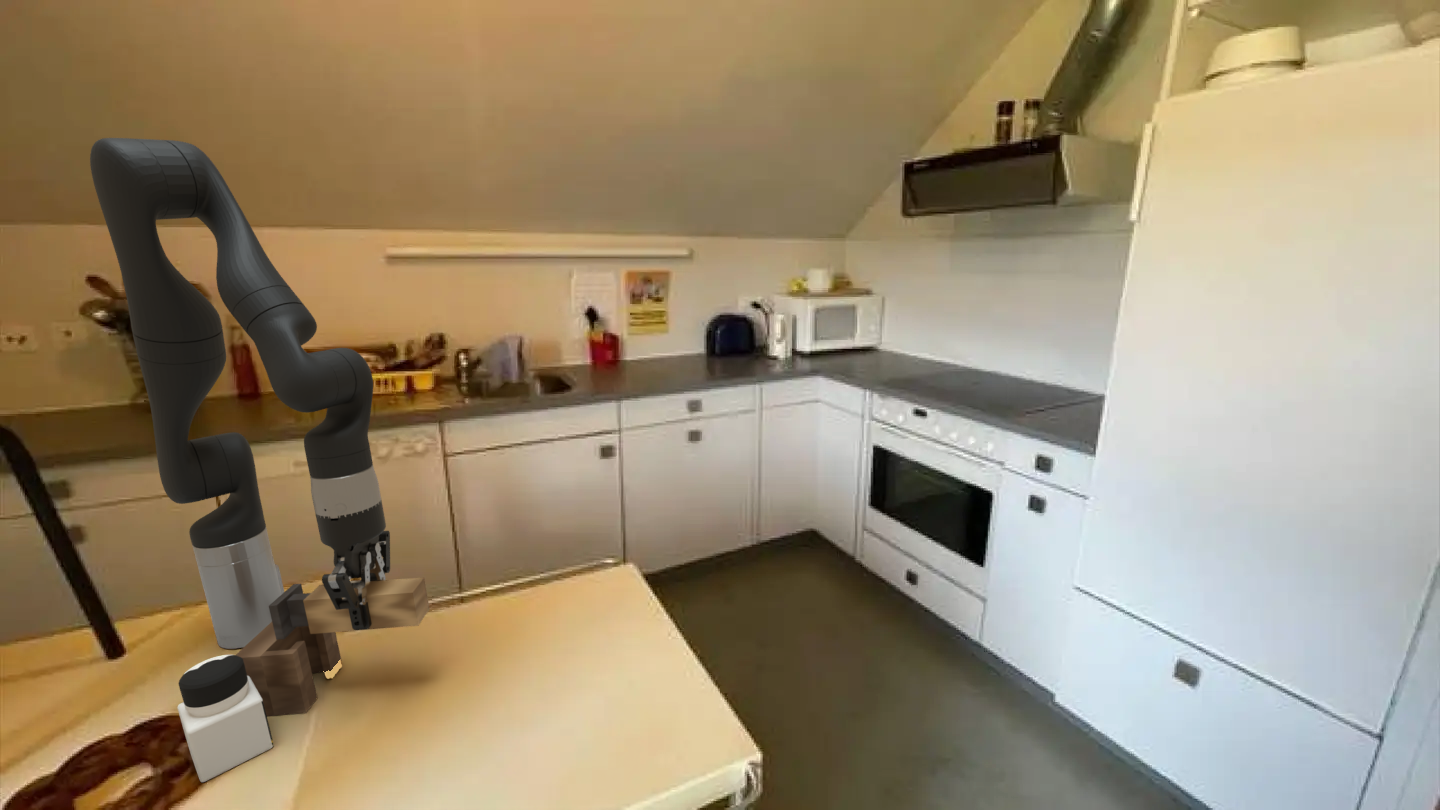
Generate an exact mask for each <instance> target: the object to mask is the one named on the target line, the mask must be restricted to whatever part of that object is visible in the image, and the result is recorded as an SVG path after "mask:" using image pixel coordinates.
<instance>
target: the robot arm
mask: <svg viewBox="0 0 1440 810" xmlns="http://www.w3.org/2000/svg"><path fill="white" fill-rule="evenodd" d="M89 156H90V157H89V164H90V165H89V166H90V172H91V177H92V182H93V185H94V189H95V193H96V196H97V199H98V203H99V205H100V209H101V211H102V214H103V218H104V221H105V223H106V224H105V225H106V228H107V230H108V234H109V237H110V239H111V243H112V246H113V249H114V253H115V255H116V258H117V263H118V266H119V269H120V270H119V271H120V273H121V279H122V283H123V287H124V292H125V293H124V294H125V295H126V300H127V301H126V302H127V307H128V313H129V320H130V326H131V332H132V337H133V341H134V347H135V349H136V355H137V359H138V362H139V367H140V370H141V374H142V378H143V382H144V386H145V389H146V392H147V396H148V402H149V407H150V411H151V418H152V426H153V435H154V442H155V451H156V458H157V465H158V473H159V478H160V481H161V484H162V486H163V490H164V492H165V494H166V495H167V497H168V498H169V499H170V500H171V501H172V502H174V503H176V504H179V505H180V504H181V505H183V504H185V505H186V504H191V503H197V502H201V501H205V500H208V499H213V498H217V497H220V496H224V495H228V497H227V498H226V500H224V502H222V504H220V505H219V506H218V507H216V508H215V509H214V510H212V511H210V512H209V513H207V514H206V515H203V516H202V517H200V518H199V519H198V520H196V521H195V522H194V523H192V524H191V526H190V528H189V532H188V533H189V539H190V542H191V545H192V549H193V553H194V556H195V557H194V558H195V561H196V564H197V568H198V572H199V577H200V580H201V585H202V588H203V590H204V595H205V600H206V603H207V606H208V610H209V614H210V617H211V618H210V619H211V622H212V627H213V630H214V634H215V638H216V642H217V645H218V646H219V647H220V648H223V649H229V650H230V649H240V648H241V649H243V648H244V647H245V646H246V645H247V644H248V643H249V642H250V641H251V640H252V639H253V638H254V637H256V636H257V635H258V634H259V633H260V632H261V631H262V630H263V629H264V628H265V627H266V626H267V625H269V624H270V623H271V622H272V619H271V614H270V610H269V605H270V604H271V603H273V602H274V601H275V600H276V599H277V598H278V597H279V596H281V595H282V594H283V593H284V592H285V589H284V584H283V580H282V575H281V571H280V568H279V564H276V563H275V560H274V555H273V550H272V545H271V543H270V537H269V533H268V528H267V525H266V521H265V515H264V509H263V505H262V501H261V496H260V490H259V489H260V488H259V484H258V476H257V471H256V470H257V469H256V465H255V457H254V454H253V450H252V447H251V445H250V443H249V441H248V440H247V439H246V437H245V436H244V435H242V434H241V433H240V432H235V431H234V432H226V433H221V434H220V433H219V434H215V435H209V436H203V437H199V438H195V439H190V440H189V434H190V429H191V425H192V422H193V420H194V416H195V414H196V413H197V410H198V409H199V408H200V406H201V404H202V403H203V401H204V400H205V399H206V397H207V395H209V393H210V392H211V390H212V389H213V387H214V385H215V384H216V383H217V380H218V379H219V377H220V375H222V372H223V371H224V368H225V365H226V361H227V350H226V344H225V338H224V330H223V325H222V319H221V317H220V314H219V312H218V310H217V309H216V307H214V305H213V304H212V303H211V302H210V300H209V299H208V298H207V297H206V296H205V295H204V294H203V293H202V292H200V290H199V289H197V288H196V287H195V286H194V285H193V284H192V283H191V282H190V281H189V280H188V279H187V278H185V276H184V275H183V274H182V273H181V272H180V271H179V270H178V269H177V268H176V267H175V266H174V264H173V263H172V262H171V260H170V259H169V258H168V256H167V255H166V252H165V251H164V248H163V246H162V243H161V241H160V240H161V239H160V238H159V233H158V229H157V221H160V220H174V219H175V220H176V219H177V220H179V219H193V218H197V219H199V221H201V222H202V223H203V225H205V226H206V227H207V228H208V230H209V231H210V232H211V233H212V235H213V237H214V239H215V243H216V249H217V256H216V267H215V268H216V269H215V271H216V273H215V274H216V275H215V276H216V277H215V279H216V280H215V281H216V286H217V291H218V294H219V297H220V299H221V301H222V302H223V305H224V307H226V309H227V310H228V312H229V313H230V314H231V315H232V317H233V318H234V320H235V321H236V322H237V323H238V324H239V326H240V327H241V329H243V331H244V332H245V333H246V334H247V336H248V337H249V338H250V339H251V340H252V342H253V343H254V345H255V347H256V349H257V352H258V354H259V357H260V360H261V362H262V365H263V367H264V370H265V372H266V375H267V378H268V380H269V383H270V386H271V388H272V390H273V392H274V394H275V395H276V396H277V398H278V399H279V401H281V403H283V404H284V405H286V406H287V407H289V408H290V409H291V410H294V411H296V412H300V413H315V412H318V411H322V410H326V414H325V417H324V420H322V422H321V423H319V424H318V425H316V426H315V427H312V429H310V430H308V431H307V432H306V433H305V434H304V435H305V436H304V439H303V446H304V453H305V457H306V458H305V460H306V462H307V470H308V473H309V478H310V492H311V493H310V494H311V501H312V504H313V508H314V514H315V519H316V523H317V528H318V529H317V530H318V533H319V537H320V538H319V539H320V542H321V543H322V544H323V545H325V546H326V547H329V548H331V549H332V550H333V566H334V568H333V570H332V571H331V573H326V574H325V573H324V574H323V575H322V578H321V583H322V585H324V587H325V589H326V591H327V593H328V595H329V597H330V599H331V601H332V603H333V605H334V607H335V609H336V610H341V609H349V614H350V619H351V624H352V628H353V629H354V630H356V631H365V630H366V631H368V630H367V629H369V627H370V626H371V625H372V623H371V617H370V612H369V607H368V602H367V590H366V587H367V586H368V585H369V584H370V581H381V580H386V575H385V574H389V573H390V571H391V534H390V533H391V532H390V530H385V529H386V527H387V523H386V518H385V513H384V507H383V501H382V497H381V491H380V484H379V480H378V476H377V474H376V471H375V467H374V464H373V458H372V457H373V456H372V452H371V445H370V441H369V436H368V435H369V428H370V421H371V412H372V403H373V395H374V379H373V374H372V370H371V369H370V366H369V364H368V362H367V361H366V359H365V358H364V357H363V356H362V355H361V354H360V353H359V352H357V351H356V350H354V349H351V348H347V347H336V348H330V349H325V350H319V351H313V352H307V351H306V350H305V349H304V348H303V345H305V344H307V343H308V342H309V341H310V340H312V339H313V337H314V336H315V334H316V332H317V330H318V325H317V324H318V323H317V322H316V319H315V317H314V316H313V315H312V313H311V312H310V311H309V309H308V308H307V307H306V306H305V304H304V303H303V301H302V300H301V299H300V298H299V296H298V295H297V294H296V293H295V292H294V290H293V289H292V288H291V287H290V285H289V284H288V283H287V282H286V280H285V279H284V278H283V276H282V275H281V274H280V273H279V271H278V270H277V268H276V267H275V266H274V265H273V263H272V261H271V259H270V258H269V257H268V255H267V253H266V252H265V251H264V248H263V246H262V244H261V243H260V241H259V239H258V238H257V236H256V234H255V232H254V230H253V228H252V226H251V224H250V222H249V221H248V219H247V217H246V215H245V213H244V212H243V210H242V208H241V207H240V205H239V203H238V202H237V200H236V198H235V196H234V195H233V192H232V191H231V188H230V187H229V186H228V183H227V182H226V180H225V179H224V177H223V176H222V174H221V172H220V171H219V169H218V167H217V166H216V164H214V163H213V161H212V160H211V158H210V157H209V156H208V155H207V154H206V153H205V152H204V151H203V150H201V149H200V148H199V147H197V146H196V145H195V144H192V143H189V142H186V141H181V140H173V139H172V140H171V139H150V138H149V139H148V138H129V137H125V138H124V137H106V138H105V137H104V138H100V139H97V140H95V142H94V143H93V145H92V146H91V149H90V155H89ZM352 579H357V580H352ZM358 579H361V580H358ZM354 588H357V589H358V596H357V595H356V592H355V590H354ZM342 598H343V599H342ZM369 630H370V629H369Z"/></svg>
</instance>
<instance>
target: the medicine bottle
mask: <svg viewBox="0 0 1440 810" xmlns="http://www.w3.org/2000/svg"><path fill="white" fill-rule="evenodd" d="M178 688H179V690H180V695H181V697H182V701H183V702H181V703H179V704H178V705H177V712H178V714H179V718H180V722H181V725H182V729H183V733H184V736H185V739H186V740H185V741H186V742H187V746H188V749H189V753H190V757H191V759H192V762H193V765H194V768H195V771H196V773H197V776H198V779H199V781H200V782H201V783H205V782H208V781H209V780H211V779H214V778H215V777H218V776H219V775H221V774H223V773H225V772H227V771H229V770H232V769H233V768H235V767H237V766H238V765H242V764H243V763H245V762H247V761H249V760H251V759H253V758H255V757H257V756H259V755H261V754H262V753H265V752H267V751H269V750H270V749H272V748H273V747H274V740H273V736H272V733H271V732H272V731H271V728H270V724H269V720H268V716H267V715H266V711H265V707H264V703H263V699H262V698H261V696H260V694H259V692H258V691H257V689H256V687H255V685H254V683H253V682H252V680H251V678H250V677H249V676H247V673H246V669H245V665H244V661H243V659H242V658H241V657H239V656H237V655H236V654H223V655H219V656H218V655H217V656H214V657H211V658H208V659H205V660H203V661H200V662H199V663H196V664H195V665H193V666H192V667H190V668H189V669H188V670H186V671H185V672H184V673H183V674H182V676H181V677H180V679H179V681H178Z"/></svg>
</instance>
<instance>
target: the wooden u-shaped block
mask: <svg viewBox="0 0 1440 810" xmlns="http://www.w3.org/2000/svg"><path fill="white" fill-rule="evenodd" d="M235 655H237V656H239V657H241V658H242V659H243V661H244V665H245V669H246V673H247V676H249V677H250V678H251V680H252V682H253V683H254V685H255V687H256V689H257V691H258V692H259V694H260V696H261V698H262V699H263V703H264V707H265V711H266V715H267V717H274V716H286V715H296V714H307V712H308V711H309V710H310V708H311V707H312V706H313V705H314V703H315V702H316V701H317V700H316V698H317V699H318V693H317V691H316V685H315V681H314V678H313V677H314V676H313V674H317V673H318V674H319V673H324V672H326V671H328V670H329V671H331V670H332V669H333V667H334V666H335V665H336V664H337V663H338V661H339V660H340V659H341V660H342V657H341V656H342V655H341V653H340V648H339V641H338V636H337V632H330V633H317V634H310V629H309V626H301V627H296V628H295V629H294V630H293V631H292V632H291V633H290V634H289V635H288V636H287V637H286V638H285V639H280V640H276V636H275V631H274V627H273V623H272V622H271V623H270V624H269V625H267V626H266V627H265V628H264V629H263V630H262V631H261V632H260V633H259V634H258V635H257V636H256V637H254V638H253V639H252V640H251V641H250V642H249V643H248V644H247V645H246V646H245V647H242V648H241V649H240V650H239V651H238V652H237V653H236V654H235ZM323 671H324V672H323Z"/></svg>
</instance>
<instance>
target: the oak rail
mask: <svg viewBox="0 0 1440 810" xmlns="http://www.w3.org/2000/svg"><path fill="white" fill-rule="evenodd" d="M354 590H355V592H356V595H357V596H358V589H357V588H354ZM366 590H367V602H368V607H369V612H370V617H371V623H372V625H371V626H370V627H369V629H367V630H366V631H369V630H378V629H392V628H393V629H394V628H408V627H418V626H420V624H421V623H422V621H423V620H424V618H425V617H426V615H427V614H428V613H429V610H430V604H429V597H428V592H427V584H426V579H425V577H412V578H409V577H408V578H398V579H397V578H396V579H385V580H381V581H370V584H369V585H368V586H367V587H366ZM342 599H343V598H342ZM269 610H270V614H271V619H272V623H273V627H274V631H275V636H276V640H280V639H285V638H286V637H287V636H288V635H289V634H290V633H291V632H292V631H293V630H294V629H295V628H296V627H301V626H309V629H310V634H317V633H330V632H336V633H339V632H340V633H342V632H355V631H357V630H354V629H353V628H352V624H351V619H350V614H349V609H341V610H336V609H335V607H334V605H333V603H332V601H331V599H330V597H329V595H328V593H327V591H326V589H325V587H324V585H323V584H319V585H318V586H317V587H316V588H315V589H314V590H312V592H306V593H304V590H303V586H302V583H293V584H292V585H291V586H289V587H288V589H286V590H284V593H283V594H282V595H281V596H279V597H278V598H277V599H276V600H275V601H274V602H273V603H271V604H270V605H269Z"/></svg>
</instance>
